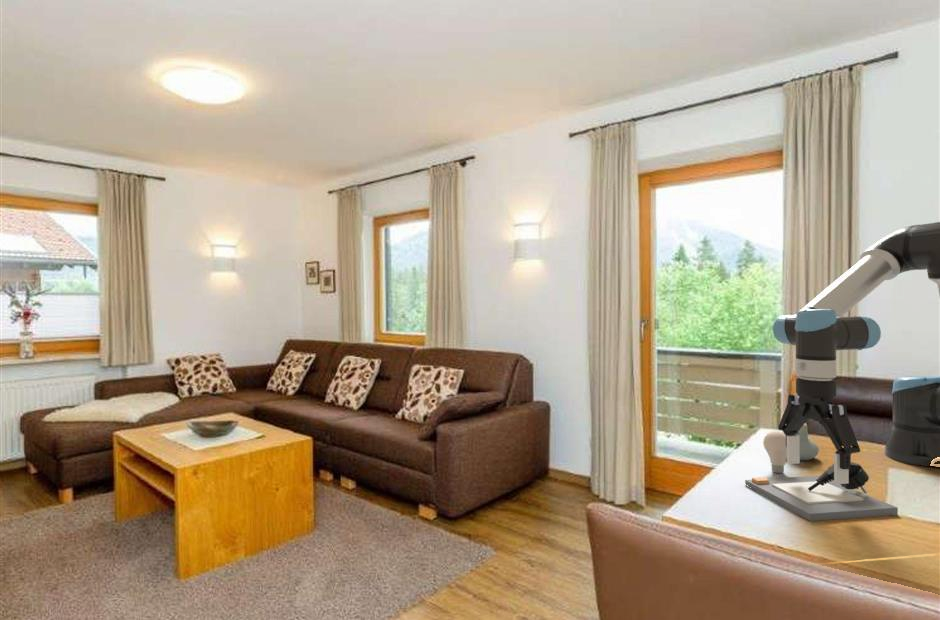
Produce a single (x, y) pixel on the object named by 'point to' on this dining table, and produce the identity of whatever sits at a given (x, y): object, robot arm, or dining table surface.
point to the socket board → (820, 498)
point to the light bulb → (776, 450)
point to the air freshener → (806, 444)
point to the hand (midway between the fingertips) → (815, 472)
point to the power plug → (855, 478)
